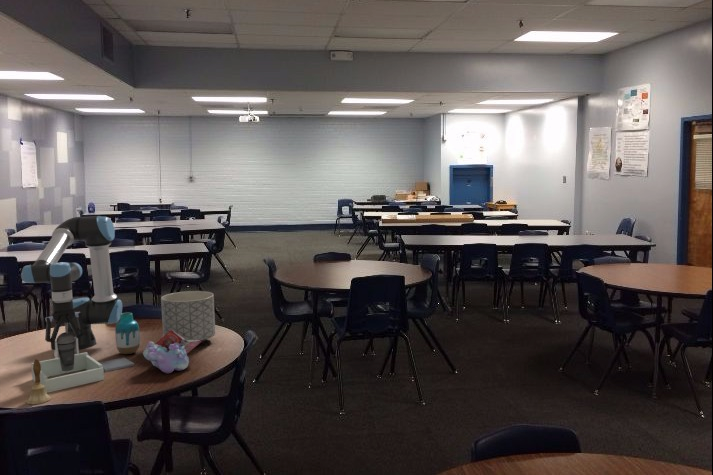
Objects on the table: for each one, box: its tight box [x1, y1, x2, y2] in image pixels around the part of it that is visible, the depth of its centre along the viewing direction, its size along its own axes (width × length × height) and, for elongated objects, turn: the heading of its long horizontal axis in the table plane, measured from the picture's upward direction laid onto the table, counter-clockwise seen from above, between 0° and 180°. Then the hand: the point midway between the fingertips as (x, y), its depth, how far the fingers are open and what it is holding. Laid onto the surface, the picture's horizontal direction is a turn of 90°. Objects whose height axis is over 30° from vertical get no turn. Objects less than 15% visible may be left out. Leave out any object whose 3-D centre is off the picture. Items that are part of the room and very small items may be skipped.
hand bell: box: [25, 358, 52, 405], centre depth 224 cm, size 8×8×16 cm
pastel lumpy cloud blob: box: [142, 330, 203, 375], centre depth 260 cm, size 20×22×18 cm
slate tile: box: [99, 357, 135, 372], centre depth 265 cm, size 12×12×1 cm
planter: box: [160, 290, 216, 345], centre depth 297 cm, size 25×25×24 cm
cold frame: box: [30, 351, 105, 394], centre depth 247 cm, size 21×22×7 cm
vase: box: [115, 312, 141, 355], centre depth 282 cm, size 11×11×19 cm
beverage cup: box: [55, 323, 75, 371], centre depth 246 cm, size 7×7×20 cm
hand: (66, 354), depth 247 cm, fingers closed on beverage cup, 7 cm apart
